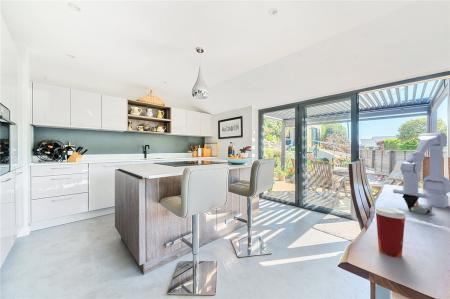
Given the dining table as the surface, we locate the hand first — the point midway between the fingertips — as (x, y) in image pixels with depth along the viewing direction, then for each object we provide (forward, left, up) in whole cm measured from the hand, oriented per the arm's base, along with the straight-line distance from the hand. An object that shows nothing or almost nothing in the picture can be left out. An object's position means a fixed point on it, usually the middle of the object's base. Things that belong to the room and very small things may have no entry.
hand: (410, 209), depth 98 cm
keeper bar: (-7, -1, +3) cm, 7 cm away
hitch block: (0, +5, -2) cm, 5 cm away
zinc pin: (0, +5, -2) cm, 5 cm away
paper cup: (+58, +18, -2) cm, 61 cm away
